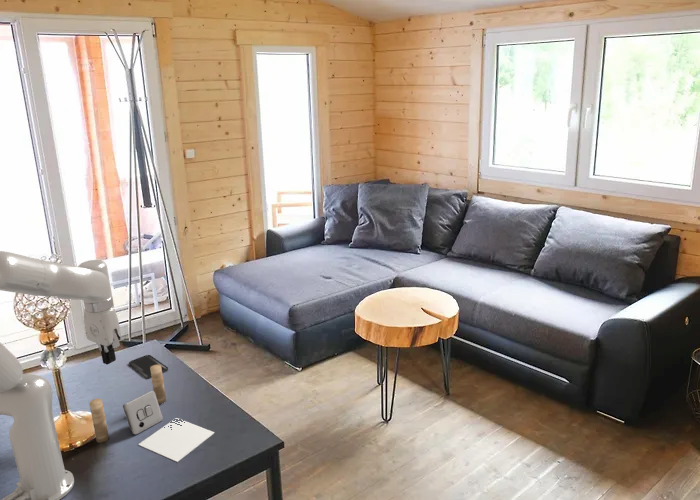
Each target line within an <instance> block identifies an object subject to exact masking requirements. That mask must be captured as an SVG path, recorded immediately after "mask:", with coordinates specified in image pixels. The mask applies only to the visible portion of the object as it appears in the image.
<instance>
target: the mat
mask: <svg viewBox="0 0 700 500" xmlns="http://www.w3.org/2000/svg"><path fill="white" fill-rule="evenodd" d="M174 419H178V420H179V419H180V418H178V417H176V418H174ZM174 419H173V420H174ZM173 420H171V421H172V422H175V421H176V420H175V421H173ZM181 420H182V421H183V419H181ZM178 422H180V423H178ZM178 422H175V423H177V424H180V425H182V426H180V425H177V424H175V423H170V422H167V424H165V425H164V426H163V427H161V428H159V429H158V430H157V431H155V432H154V433H153V434H151V435H150V436H148V437H146V438H145V439H143V440H142V441H141V442H140V443H138V446H140V447H142V448H145V449H147V450H149V451H151V452H153V453H156V454H158V455H160V456H162V457H165V458H167V459H170V460H171V461H174V462H177V463H179V462H180V461H181V460H182V459H183V458H185V457H186V456H188V455H189V454H190V453H191V452H193V451H194V450H195V449H197V447H199V446H201V445H202V444H203V443H204V442H206V441H207V440H208V439H209V438H210V437H212V436H213V435H214V434H215V431H212V430H210V429H207V428H204V427H202V426H199V425H197V424H194V423H192V422H189V421H187V420H184V421H183V422H181V421H178ZM184 422H185V423H184ZM170 425H172V426H170ZM168 426H169V427H168ZM164 427H165V428H164ZM170 427H172V428H170ZM171 429H172V430H171Z"/></svg>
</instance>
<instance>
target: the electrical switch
mask: <svg viewBox="0 0 700 500" xmlns="http://www.w3.org/2000/svg"><path fill="white" fill-rule="evenodd" d="M122 408H123V410H124V411H123V412H124V414H125V418H126V420H127V424H128V427H129V429H130V431H131V432H132V434H134V435H139V434H140V433H143V432H144V431H145V430H147V429H149V428H151V427H152V426H155V425H156V424H158V423H160V422H161V421H162V420H163V414H162V411H161V408H160V404H158V401H157V398H156V395H155V392H154V390H150V391H148V392H147V393H144V394H142V395H140V396H138V397H136V398H134V399H132V400H130V401H128V402H126V403H124V404H122Z"/></svg>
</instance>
